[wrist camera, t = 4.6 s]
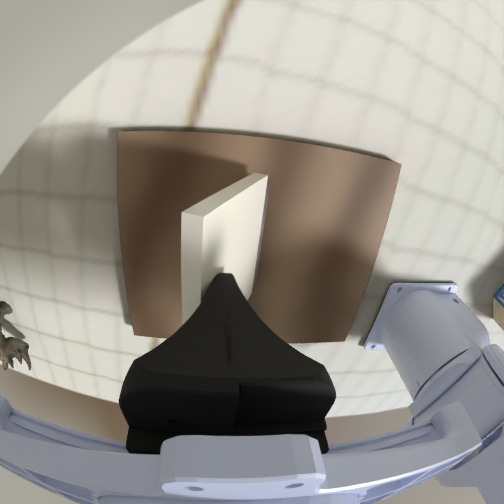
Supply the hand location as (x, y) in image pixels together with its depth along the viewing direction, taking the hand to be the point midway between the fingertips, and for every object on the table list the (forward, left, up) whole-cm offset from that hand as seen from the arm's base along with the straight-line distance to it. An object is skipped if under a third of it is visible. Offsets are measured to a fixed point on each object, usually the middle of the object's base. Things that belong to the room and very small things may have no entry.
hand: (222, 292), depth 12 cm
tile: (-1, 0, -2) cm, 2 cm away
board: (-2, +2, -8) cm, 8 cm away
